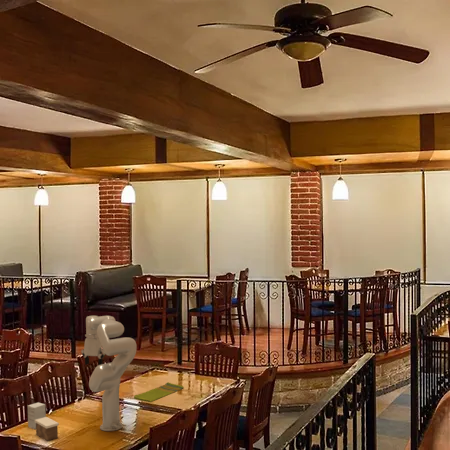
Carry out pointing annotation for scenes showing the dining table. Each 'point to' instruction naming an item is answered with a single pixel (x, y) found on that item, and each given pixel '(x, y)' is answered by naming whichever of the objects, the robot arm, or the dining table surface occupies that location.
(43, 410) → the supplement box
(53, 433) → the crate
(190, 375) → the dining table surface
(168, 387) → the dish towel
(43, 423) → the lid
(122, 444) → the dining table surface
